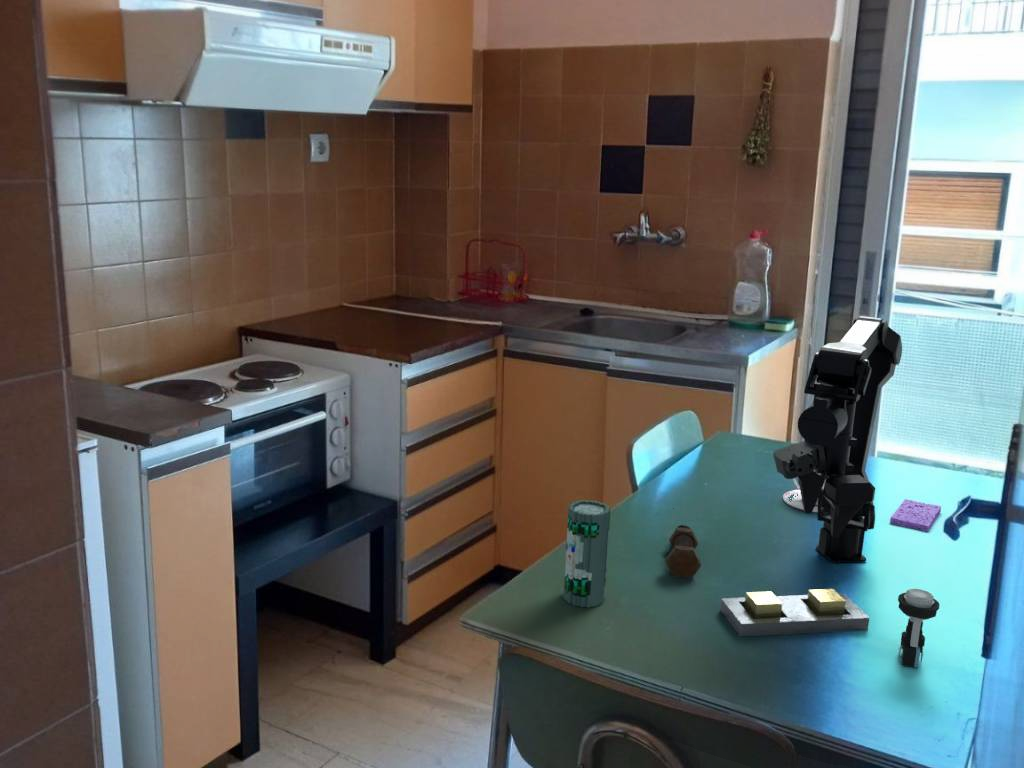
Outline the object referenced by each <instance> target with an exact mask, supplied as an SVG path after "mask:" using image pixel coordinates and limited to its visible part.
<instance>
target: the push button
mask: <svg viewBox="0 0 1024 768" xmlns="http://www.w3.org/2000/svg"><path fill="white" fill-rule="evenodd" d="M934 597H935V596H934V595H933V594H932V593H931V592H929V591H927V590H924V589H919V588H909V589H907V590H906V591H905V592H901V594H899V595H898V596H897V601H898V609H899V610H900V611H901V612H902V613H903V614H904V615H905V616H907V617H908V621H907V625H906V627H905V631H903V632H901V638H900V645H899V650H898V658H899V659H900V657H901V666H903V665H904V667H910V668H917V669H918V668H919V662H923V658H924V651H923V650H924V648H923V647H925V642H926V636H925V635H923V628H924V627H923V626H924V621H926V620H929V619H932V618H935V617H937V611H938V610H939V609H940V606H941V605H940V602H939V601H938V600H936V599H935V598H934ZM901 651H902V652H901ZM901 653H902V656H901Z"/></svg>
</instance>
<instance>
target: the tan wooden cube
mask: <svg viewBox="0 0 1024 768" xmlns="http://www.w3.org/2000/svg"><path fill="white" fill-rule="evenodd" d="M839 594H840V593H838V592H837V591H836V590H835V589H834V588H824V589H822V588H821V589H820V588H819V589H808V593H807V595H808V600H807V606H808V607H809V609H810V610H811V611H812V612H813V613H814V614H815V615H816V616H831V615H844V610H845V603H846V601H845V600H844V599H843V598H842V597H841V596H840V595H839Z"/></svg>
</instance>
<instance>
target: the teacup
mask: <svg viewBox="0 0 1024 768" xmlns="http://www.w3.org/2000/svg"><path fill="white" fill-rule="evenodd" d="M792 481H793V484H794V485H795V488H796V489H795V490H794V489H793V490H789V491H787V492H785V493H783V495H782V500H783V502H784V503H786V504H787V505H788V506H790V507H793V508H795V509H798V510H801V511H804V508H803V502H802V497H801V492H800V487H799V483H797V480H796V478H794V479H792ZM825 481H826V479H825ZM824 485H825V482H824V484H823V487H824ZM793 494H794V496H793V498H794V499H793V498H792V501H791V500H790V501H791V502H790V501H789V498H788V497H790V496H791V495H793ZM797 494H798V496H797ZM795 496H796V497H795ZM790 499H791V498H790ZM812 513H818V500H817V502H816V505H815V507H814V509H813V511H812Z"/></svg>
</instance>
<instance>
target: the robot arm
mask: <svg viewBox="0 0 1024 768" xmlns="http://www.w3.org/2000/svg"><path fill="white" fill-rule="evenodd" d="M888 324H889V323H888V321H887V320H885V319H883V318H881V317H872V316H864V315H859V316H855V317H854V318H853V323H852V326H851V327H850V328H849V330H848V331H847V332H846V333H845V334H844V336H843V337H842V338H841V339H840V341H838V342H829V343H826V344H825V345H823V346H821V347H820V348H819V351H818V352H816V353H815V354H814V355H813V359H812V362H811V365H810V369H809V374H808V377H807V380H806V383H805V388H804V393H803V394H806V395H813V401H812V404H811V405H809V407H807V408H806V409H804V411H802V413H800V415H799V417H798V419H797V429H798V433H799V434H800V436H801V438H802V439H803V440H804V441H802V442H798V443H797V442H796V443H792V444H790V445H788V446H784V447H782V448H779V449H777V450H774V451H773V452H772V456H773V459H774V460H773V461H774V463H775V467H776V471H777V473H779V474H781V475H782V476H783V477H784V478H785V479H786V480H793V479H794V478H795V479H797V481H798V486H799V487H800V492H801V497H802V500H801V502H802V503H803V508H804V510H803V512H804V514H812V513H813V512H812V511H813V509H814V507H815V506H817V507H818V512H817V522H818V521H819V522H823V525H822V527H821V528H820V530H819V531H820V532H819V537H818V538H819V540H818V544H817V545H816V546H815V549H817V551H818V552H820V553H821V554H822V555H823V556H824V557H825V558H826V559H827V560H829V561H830V562H831V563H834V564H836V563H856V562H857V563H859V562H866V561H867V557H865V556H864V555H863V549H864V541H865V532H868V530H869V531H870V530H874V529H875V524H876V507H875V505H874V501H875V494H876V487H875V486H874V485H873V483H871V481H870V480H869V478H868V475H867V472H866V468H867V462H868V458H869V457H868V456H869V452H870V447H871V441H872V437H873V431H874V426H875V421H876V417H877V416H876V415H877V411H878V406H879V402H880V397H881V396H880V395H881V391H882V388H883V387H884V386H885V385H886V384H887V383H888V381H889V380H891V378H892V377H894V374H895V370H896V366H899V365H900V362H901V359H902V355H903V354H902V353H903V342H902V338H901V335H900V334H899V333H897V332H896V331H895V330H894V329H892V328H891V327H890V326H889V325H888ZM825 479H826V481H825ZM824 482H825V485H824V487H823V484H824ZM817 500H818V505H816V502H817Z"/></svg>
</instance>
